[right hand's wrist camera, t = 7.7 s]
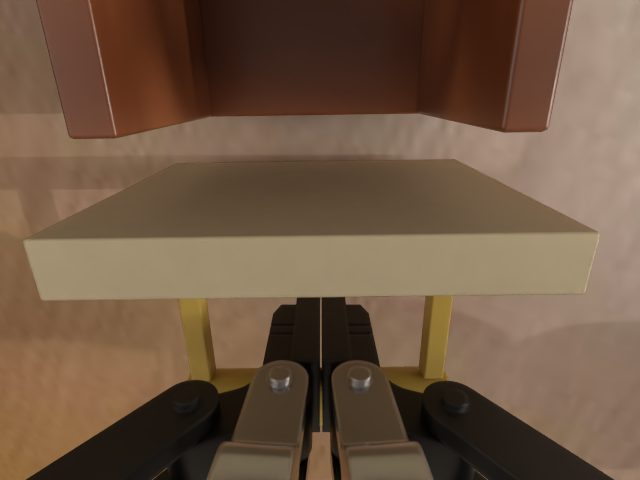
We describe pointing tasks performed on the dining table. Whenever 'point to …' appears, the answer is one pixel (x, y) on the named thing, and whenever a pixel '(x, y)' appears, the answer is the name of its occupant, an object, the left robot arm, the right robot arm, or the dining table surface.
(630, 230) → the dining table surface
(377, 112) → the drawer
